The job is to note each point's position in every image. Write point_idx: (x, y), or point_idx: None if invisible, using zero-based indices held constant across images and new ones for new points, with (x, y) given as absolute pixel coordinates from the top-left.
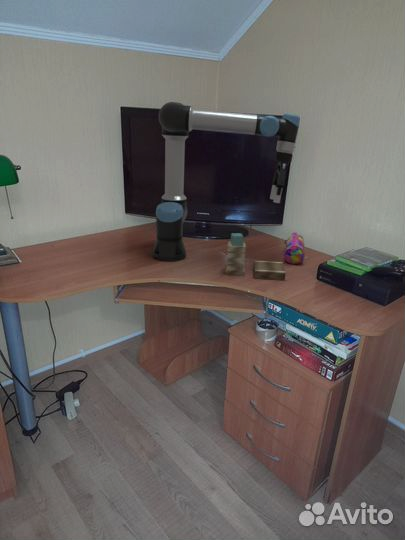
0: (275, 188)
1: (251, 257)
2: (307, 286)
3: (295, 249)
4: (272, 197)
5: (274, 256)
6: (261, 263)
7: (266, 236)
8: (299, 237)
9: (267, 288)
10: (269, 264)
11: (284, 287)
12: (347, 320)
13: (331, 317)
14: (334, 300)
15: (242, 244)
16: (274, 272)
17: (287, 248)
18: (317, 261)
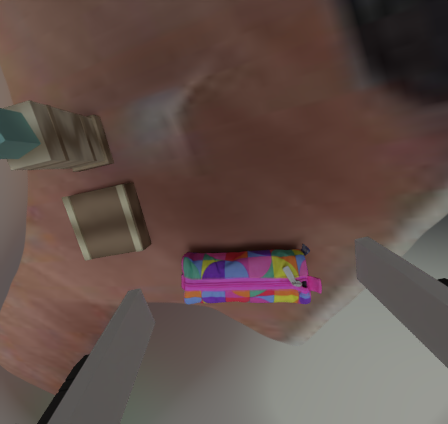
0: (442, 339)
1: (199, 164)
2: (90, 292)
3: (181, 286)
4: (366, 263)
5: (231, 220)
6: (115, 204)
7: (427, 173)
8: (294, 296)
9: (44, 226)
10: (118, 222)
11: (64, 255)
12: (7, 338)
13: (3, 321)
14: (58, 329)
15: (13, 158)
16: (78, 238)
17: (184, 266)
18: (234, 313)
